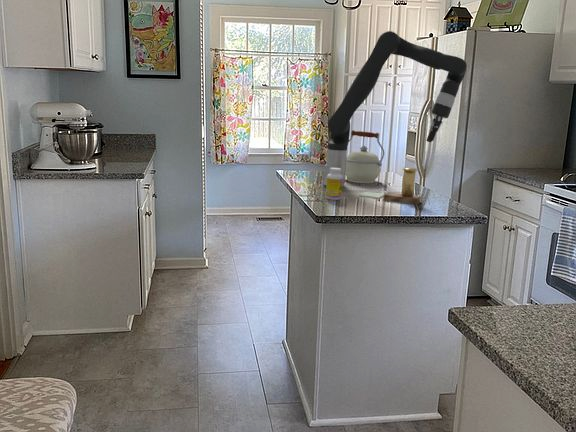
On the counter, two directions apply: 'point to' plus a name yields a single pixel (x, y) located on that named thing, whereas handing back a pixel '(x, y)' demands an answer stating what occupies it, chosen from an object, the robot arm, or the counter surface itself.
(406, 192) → the gold cylindrical canister
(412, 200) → the brown flat block
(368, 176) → the kettle
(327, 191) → the supplement bottle
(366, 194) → the pad
